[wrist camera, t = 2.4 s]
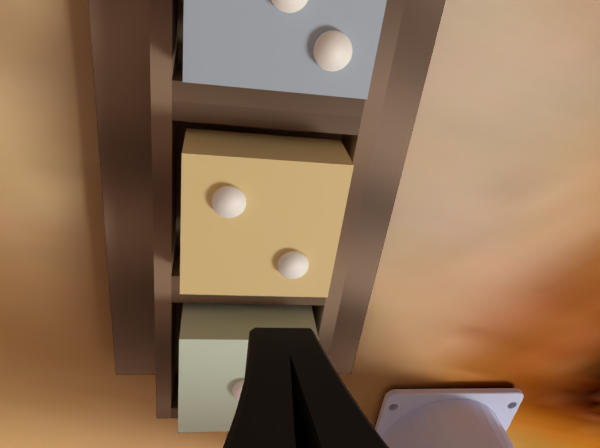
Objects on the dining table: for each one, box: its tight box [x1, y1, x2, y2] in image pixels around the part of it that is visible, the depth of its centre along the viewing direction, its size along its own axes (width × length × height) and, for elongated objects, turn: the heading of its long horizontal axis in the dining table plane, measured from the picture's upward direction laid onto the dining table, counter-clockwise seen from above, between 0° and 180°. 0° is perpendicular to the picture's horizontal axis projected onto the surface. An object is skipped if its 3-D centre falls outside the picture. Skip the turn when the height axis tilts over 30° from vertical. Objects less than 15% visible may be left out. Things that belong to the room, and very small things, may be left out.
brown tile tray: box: [88, 0, 445, 418], centre depth 18 cm, size 21×11×3 cm, turn 172°
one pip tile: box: [178, 303, 319, 433], centre depth 20 cm, size 5×5×2 cm
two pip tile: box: [180, 128, 354, 297], centre depth 17 cm, size 5×5×2 cm
